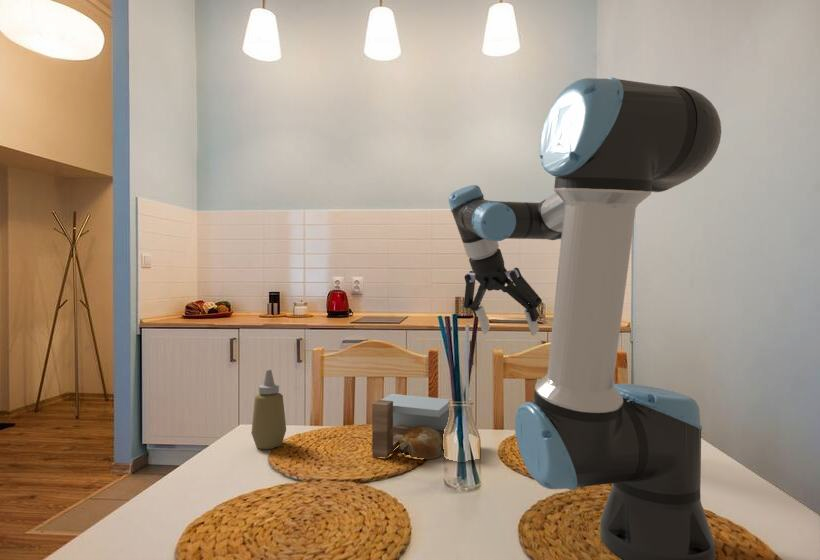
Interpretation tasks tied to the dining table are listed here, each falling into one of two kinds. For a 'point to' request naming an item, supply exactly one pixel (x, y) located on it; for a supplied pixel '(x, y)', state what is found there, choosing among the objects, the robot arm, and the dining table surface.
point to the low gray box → (419, 411)
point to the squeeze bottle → (268, 415)
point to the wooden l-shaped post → (386, 429)
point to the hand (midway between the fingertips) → (510, 331)
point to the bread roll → (422, 443)
